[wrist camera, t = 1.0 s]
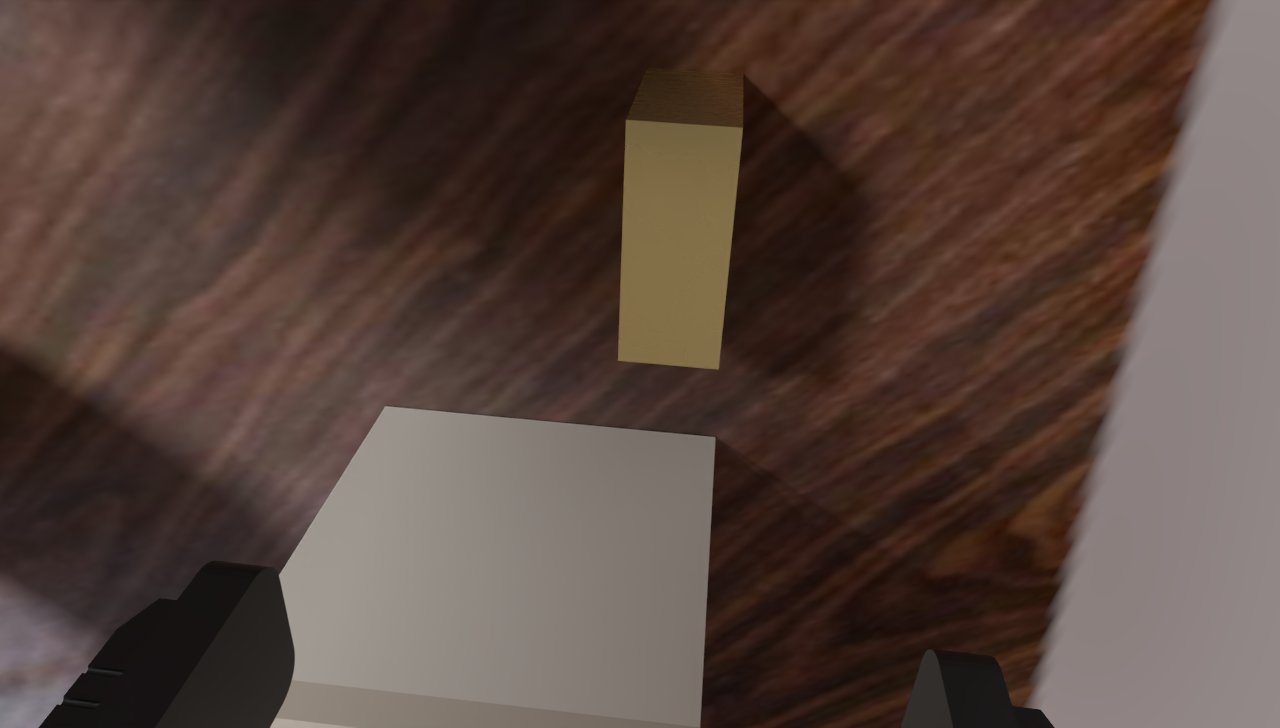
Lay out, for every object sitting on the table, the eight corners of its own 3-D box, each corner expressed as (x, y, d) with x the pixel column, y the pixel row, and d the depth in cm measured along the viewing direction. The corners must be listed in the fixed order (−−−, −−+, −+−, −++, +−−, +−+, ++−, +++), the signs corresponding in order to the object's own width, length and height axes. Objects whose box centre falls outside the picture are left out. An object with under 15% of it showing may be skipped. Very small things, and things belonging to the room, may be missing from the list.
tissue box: (385, 406, 30) (194, 708, 19) (715, 436, 29) (698, 768, 19) (419, 671, 36) (290, 999, 26) (688, 701, 36) (664, 1052, 25)
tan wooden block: (647, 66, 23) (625, 119, 19) (743, 73, 23) (743, 127, 19) (638, 275, 26) (617, 360, 22) (722, 282, 26) (718, 369, 22)
